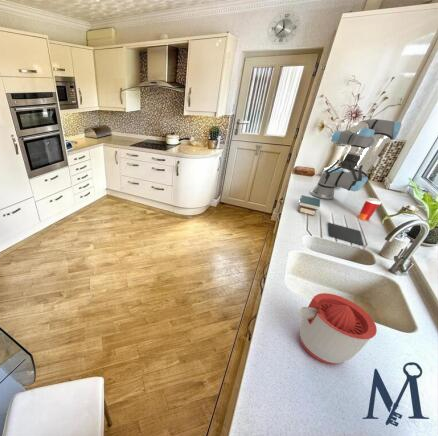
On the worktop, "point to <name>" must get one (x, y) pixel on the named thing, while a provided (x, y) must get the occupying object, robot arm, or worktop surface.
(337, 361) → the citrus juicer
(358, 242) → the rubber mat
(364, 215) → the paper cup
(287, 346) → the worktop surface
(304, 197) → the teal hardback
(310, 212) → the burgundy notebook
